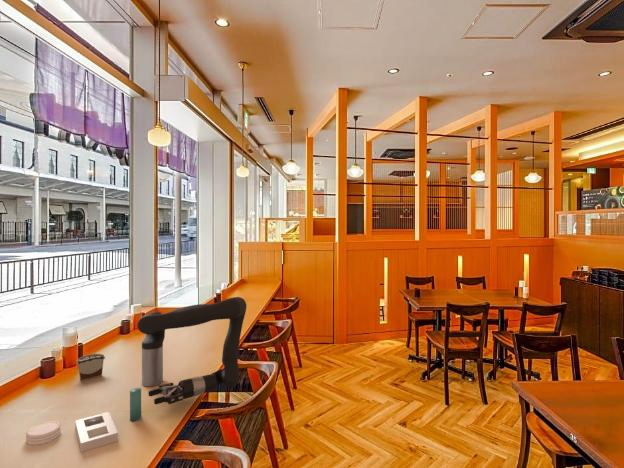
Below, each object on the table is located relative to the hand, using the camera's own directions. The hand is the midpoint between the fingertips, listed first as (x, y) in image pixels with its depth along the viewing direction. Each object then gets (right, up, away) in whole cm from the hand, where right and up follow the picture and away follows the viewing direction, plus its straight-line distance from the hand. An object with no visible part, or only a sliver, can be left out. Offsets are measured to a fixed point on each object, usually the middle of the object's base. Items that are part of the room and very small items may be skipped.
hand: (151, 397), depth 151 cm
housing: (-14, -7, -15) cm, 21 cm away
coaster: (-31, -7, -17) cm, 36 cm away
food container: (-46, -5, +37) cm, 59 cm away
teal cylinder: (-5, -7, -3) cm, 9 cm away
